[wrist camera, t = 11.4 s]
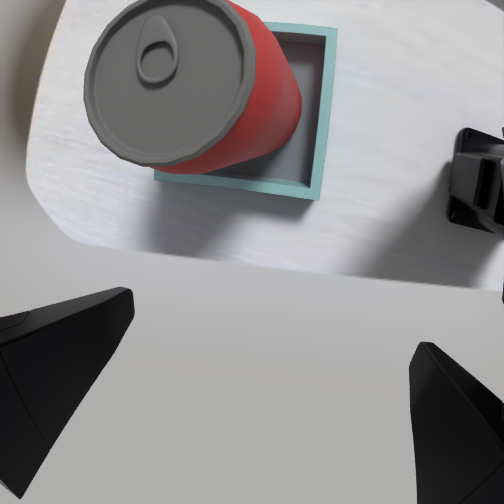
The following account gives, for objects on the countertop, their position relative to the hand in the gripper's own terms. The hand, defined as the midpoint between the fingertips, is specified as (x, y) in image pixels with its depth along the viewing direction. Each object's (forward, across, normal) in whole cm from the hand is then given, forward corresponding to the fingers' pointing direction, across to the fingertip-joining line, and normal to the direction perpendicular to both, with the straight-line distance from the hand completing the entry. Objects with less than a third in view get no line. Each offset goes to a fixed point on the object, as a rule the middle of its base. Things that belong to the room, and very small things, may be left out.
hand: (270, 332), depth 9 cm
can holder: (+13, +4, -7) cm, 15 cm away
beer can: (+13, +4, -7) cm, 15 cm away
